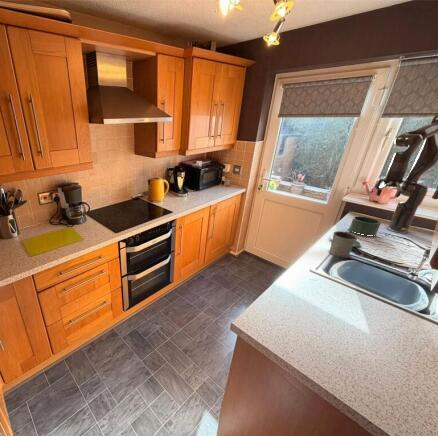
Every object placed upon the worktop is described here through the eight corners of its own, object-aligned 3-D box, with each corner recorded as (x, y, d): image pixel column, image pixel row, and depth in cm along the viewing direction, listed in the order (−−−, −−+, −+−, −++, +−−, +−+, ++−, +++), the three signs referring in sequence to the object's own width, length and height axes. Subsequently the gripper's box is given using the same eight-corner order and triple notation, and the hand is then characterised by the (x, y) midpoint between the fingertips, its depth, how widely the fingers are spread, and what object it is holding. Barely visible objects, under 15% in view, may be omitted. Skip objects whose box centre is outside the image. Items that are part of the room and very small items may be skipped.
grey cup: (344, 251, 133) (351, 232, 129) (354, 260, 124) (361, 240, 120) (324, 248, 136) (330, 230, 131) (332, 257, 127) (339, 238, 122)
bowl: (326, 235, 152) (329, 226, 150) (354, 239, 147) (357, 230, 145) (333, 245, 140) (337, 235, 137) (364, 249, 135) (367, 239, 132)
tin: (346, 227, 165) (350, 215, 161) (370, 230, 160) (375, 217, 157) (353, 235, 153) (358, 222, 150) (379, 238, 148) (385, 225, 145)
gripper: (409, 169, 137) (399, 195, 143) (378, 168, 142) (369, 193, 148) (417, 171, 130) (405, 199, 136) (384, 170, 136) (375, 196, 141)
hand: (387, 196), depth 142 cm, fingers open, 8 cm apart
